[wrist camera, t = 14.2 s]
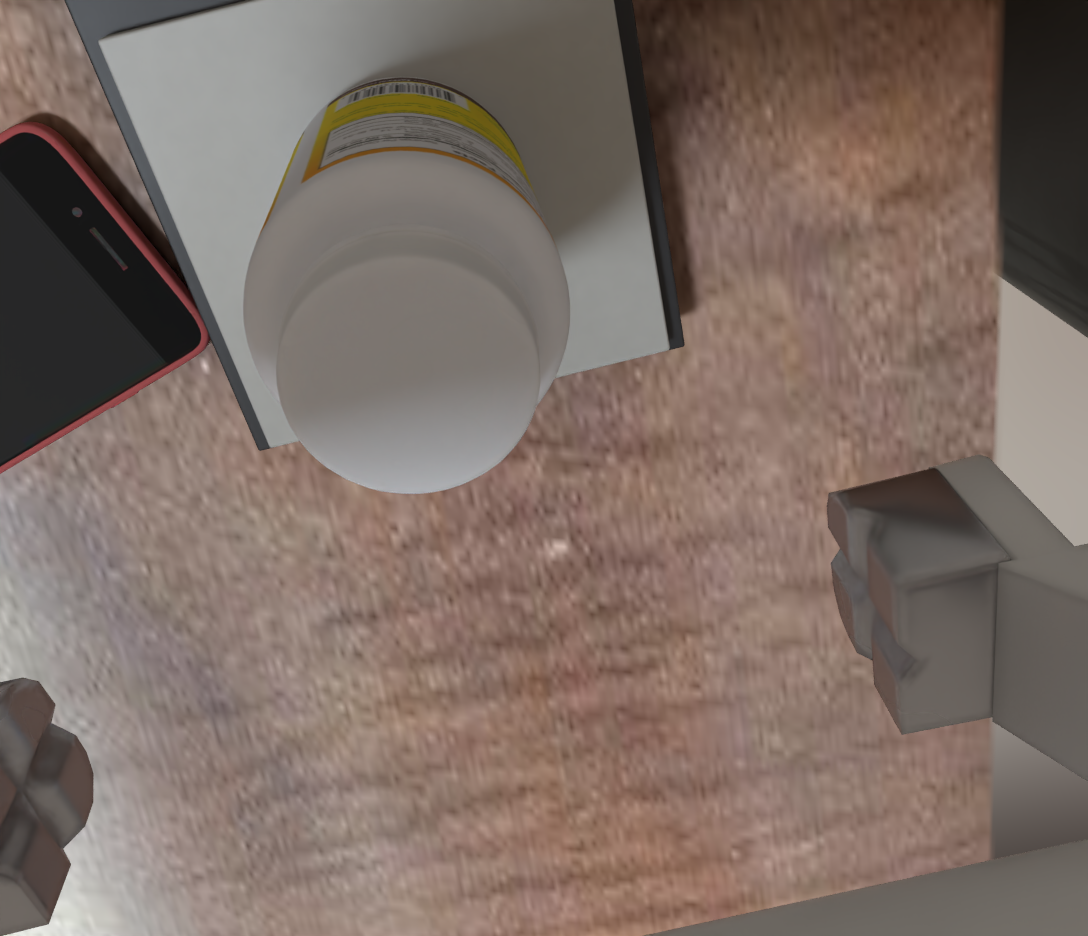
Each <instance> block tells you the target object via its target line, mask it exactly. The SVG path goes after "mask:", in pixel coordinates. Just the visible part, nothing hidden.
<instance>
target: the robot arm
mask: <svg viewBox="0 0 1088 936" xmlns="http://www.w3.org/2000/svg"><path fill="white" fill-rule="evenodd" d="M827 517H828V528H829V530H830V531H831V533H832V535H833V536H834V538H835V540H836V542H837V543H838V545H839V547H840V550H839V551H838V553H837V554H836V556H835V558H834V559H833V561H832V562H831V568H832V577H833V586H834V592H835V596H836V600H837V605H838V609H839V613H840V616H841V619H842V621H843V624H844V627H845V629H846V632H847V634H848V636H849V638H850V640H851V642H852V644H853V646H854V648H855V650H856V652H857V653H859V654H861V655H863V656H865V657H867V658H869V659H871V660H873V674H874V685H875V687H876V689H877V691H878V692H879V694H880V696H881V698H882V700H883V702H884V703H885V705H886V707H887V709H888V711H889V712H890V714H891V716H892V718H893V720H894V722H895V723H896V725H897V727H898V729H899V731H900V732H901V734H902V735H903V734H908V733H913V732H918V731H923V730H929V729H934V728H939V727H944V726H949V725H954V724H959V723H965V722H970V721H975V720H980V719H985V718H990V717H993V722H994V723H996V724H998V725H1000V726H1001V727H1002V728H1004V729H1006V730H1007V731H1009V732H1011V733H1012V734H1013V735H1015V736H1017V737H1018V738H1020V739H1022V740H1023V741H1025V742H1026V743H1028V744H1029V745H1031V746H1032V747H1034V748H1036V749H1037V750H1039V751H1040V752H1042V753H1043V754H1045V755H1047V756H1049V757H1050V758H1051V759H1053V760H1055V761H1056V762H1058V763H1060V764H1061V765H1062V766H1064V767H1066V768H1067V769H1069V770H1070V771H1072V772H1074V773H1075V774H1077V775H1078V776H1080V777H1081V778H1083V779H1085V780H1086V781H1088V544H1084V545H1079V546H1075V547H1074V546H1073V544H1072V543H1071V542H1070V541H1069V540H1068V539H1067V538H1066V537H1065V536H1064V535H1063V534H1062V533H1061V532H1060V531H1059V530H1058V529H1057V528H1056V527H1055V526H1054V525H1053V524H1052V523H1051V522H1050V521H1049V520H1048V519H1047V517H1046V516H1045V515H1044V514H1043V513H1042V512H1041V511H1040V510H1039V509H1038V508H1037V507H1036V506H1035V505H1034V504H1033V503H1032V502H1031V501H1030V500H1029V499H1028V498H1027V497H1026V496H1025V495H1024V494H1023V493H1022V492H1021V490H1020V489H1018V487H1017V486H1016V485H1015V484H1014V483H1013V482H1012V481H1011V480H1010V479H1009V478H1008V477H1007V476H1006V475H1005V474H1004V473H1003V472H1002V471H1001V470H1000V469H999V468H998V467H997V466H996V465H995V464H994V462H993V461H992V460H991V459H990V458H988V457H985V456H982V455H975V456H971V457H967V458H963V459H960V460H956V461H952V462H948V463H944V464H940V465H937V466H933V467H929V469H927V470H923V471H919V472H915V473H911V474H906V475H902V476H898V477H894V478H890V479H885V480H881V481H877V482H873V483H869V484H864V485H860V486H856V487H852V488H848V489H843V490H839V491H835V492H831V493H829V494H828V502H827ZM54 709H55V703H54V702H53V700H52V699H51V698H50V696H49V695H48V694H47V692H46V691H45V689H44V688H43V687H42V685H41V684H40V683H39V681H35V680H31V679H26V678H19V679H14V680H9V681H4V682H0V936H3V935H7V934H11V933H15V932H19V931H23V930H27V929H31V928H35V927H39V926H43V925H47V924H49V922H50V919H51V916H52V914H53V911H54V908H55V906H56V903H57V900H58V898H59V895H60V892H61V890H62V887H63V884H64V882H65V879H66V876H67V874H68V871H69V868H70V866H71V863H70V862H69V860H68V858H67V856H66V854H65V852H64V850H63V848H64V847H65V846H66V845H67V844H68V843H69V842H70V841H71V840H72V839H73V838H74V837H75V836H76V835H77V834H78V833H79V832H80V831H81V830H82V829H83V828H84V827H85V825H86V822H87V819H88V816H89V813H90V810H91V807H92V804H93V771H92V768H91V764H90V761H89V758H88V755H87V752H86V751H85V749H84V747H83V746H82V744H81V743H80V741H79V740H78V738H77V736H76V735H74V734H72V733H70V732H68V731H66V730H64V729H62V728H60V727H58V726H56V725H54V724H52V723H51V721H52V717H53V713H54ZM644 936H1088V839H1086V840H1081V841H1076V842H1072V843H1067V844H1063V845H1058V846H1053V847H1049V848H1045V849H1040V850H1035V851H1031V852H1026V853H1021V854H1017V855H1012V856H1008V857H1003V858H998V859H994V860H989V861H985V862H980V863H975V864H971V865H966V866H962V867H957V868H952V869H948V870H943V871H939V872H934V873H930V874H925V875H920V876H916V877H911V878H907V879H902V880H897V881H893V882H888V883H884V884H879V885H875V886H870V887H865V888H861V889H856V890H852V891H847V892H842V893H838V894H833V895H829V896H824V897H819V898H815V899H810V900H806V901H801V902H796V903H792V904H787V905H782V906H778V907H773V908H769V909H764V910H759V911H755V912H750V913H746V914H741V915H736V916H732V917H727V918H722V919H718V920H713V921H709V922H704V923H699V924H695V925H690V926H685V927H681V928H676V929H672V930H667V931H662V932H658V933H653V934H649V935H644Z"/></svg>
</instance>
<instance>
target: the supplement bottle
mask: <svg viewBox="0 0 1088 936" xmlns="http://www.w3.org/2000/svg"><path fill="white" fill-rule="evenodd" d="M243 320H244V327H245V334H246V338H247V342H248V346H249V349H250V352H251V355H252V358H253V361H254V364H255V366H256V369H257V370H258V372H259V374H260V376H261V378H262V379H263V381H264V383H265V385H266V386H267V388H268V389H269V391H270V392H271V394H272V395H273V397H274V398H275V399H276V400H277V402H278V403H279V404H280V405H281V406H282V409H283V412H284V414H285V416H286V418H287V421H288V423H289V425H290V427H291V429H292V430H293V432H294V433H295V435H296V436H297V438H298V439H299V440H300V442H301V443H302V444H303V446H304V447H305V448H306V449H307V451H308V452H309V453H310V454H311V455H313V456H314V457H315V458H316V459H317V460H318V461H319V462H321V463H322V464H323V465H324V466H326V467H327V468H329V469H330V470H332V471H333V472H335V473H336V474H338V475H340V476H341V477H343V478H345V479H347V480H349V481H352V482H354V483H356V484H359V485H362V486H365V487H368V488H371V489H374V490H379V491H383V492H391V493H401V494H421V493H431V492H437V491H442V490H446V489H450V488H453V487H456V486H459V485H462V484H465V483H467V482H469V481H471V480H473V479H475V478H477V477H479V476H480V475H482V474H484V473H486V472H487V471H489V470H490V469H491V468H493V467H494V466H496V465H497V464H498V463H500V462H501V461H502V460H503V459H504V458H505V457H506V456H507V455H508V454H509V453H510V452H511V450H512V449H513V448H514V447H515V446H516V444H517V443H518V442H519V441H520V440H521V438H522V436H523V435H524V433H525V431H526V430H527V428H528V425H529V423H530V421H531V419H532V417H533V414H534V412H535V408H536V406H537V405H538V404H539V402H540V401H541V400H542V398H543V397H544V395H545V394H546V392H547V391H548V389H549V388H550V386H551V384H552V382H553V381H554V378H555V376H556V374H557V372H558V370H559V367H560V365H561V362H562V359H563V356H564V353H565V349H566V345H567V340H568V335H569V327H570V297H569V289H568V283H567V279H566V275H565V271H564V267H563V264H562V261H561V258H560V255H559V252H558V250H557V247H556V245H555V242H554V240H553V237H552V235H551V233H550V231H549V228H548V226H547V223H546V221H545V218H544V216H543V213H542V211H541V208H540V206H539V203H538V200H537V198H536V196H535V193H534V190H533V188H532V186H531V183H530V181H529V179H528V176H527V174H526V171H525V168H524V165H523V163H522V161H521V158H520V155H519V153H518V151H517V149H516V147H515V145H514V143H513V141H512V140H511V139H510V137H509V136H508V134H507V132H506V131H505V129H504V128H503V127H502V125H501V124H500V123H499V122H498V121H497V119H496V118H495V117H494V116H493V115H492V114H491V113H490V112H489V111H488V110H487V109H486V108H484V107H483V106H482V105H481V104H480V103H478V102H477V101H476V100H474V99H473V98H471V97H470V96H468V95H467V94H465V93H463V92H461V91H459V90H457V89H455V88H453V87H451V86H448V85H446V84H443V83H440V82H437V81H432V80H428V79H424V78H417V77H390V78H382V79H377V80H373V81H370V82H367V83H364V84H361V85H358V86H356V87H354V88H352V89H349V90H348V91H346V92H344V93H342V94H341V95H339V96H338V97H336V98H335V99H333V100H332V101H331V102H330V103H328V104H327V105H326V106H325V107H324V108H323V109H321V110H320V111H319V112H318V113H317V115H316V116H315V117H314V118H313V119H312V120H311V122H310V123H309V125H308V126H307V127H306V129H305V130H304V132H303V134H302V136H301V137H300V139H299V141H298V143H297V145H296V147H295V149H294V151H293V154H292V156H291V159H290V161H289V163H288V166H287V168H286V171H285V173H284V176H283V178H282V181H281V183H280V186H279V189H278V191H277V193H276V196H275V198H274V201H273V203H272V206H271V208H270V210H269V213H268V215H267V218H266V220H265V222H264V225H263V227H262V229H261V232H260V234H259V237H258V239H257V241H256V244H255V247H254V250H253V252H252V255H251V258H250V262H249V265H248V269H247V274H246V279H245V287H244V299H243Z"/></svg>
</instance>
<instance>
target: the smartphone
mask: <svg viewBox="0 0 1088 936" xmlns="http://www.w3.org/2000/svg"><path fill="white" fill-rule="evenodd" d="M209 340H210V336H209V334H208V331H207V329H206V327H205V325H204V322H203V320H202V318H201V315H200V313H199V311H198V308H197V306H196V304H195V301H194V299H193V297H192V294H191V292H190V291H189V290H188V289H187V287H186V286H185V285H184V283H183V282H182V281H181V280H180V278H179V277H178V276H177V275H176V274H175V272H174V271H173V270H172V269H171V267H170V266H169V265H168V264H167V262H166V261H165V260H164V259H163V257H162V256H161V255H160V254H159V253H158V251H157V250H156V249H155V248H154V246H153V245H152V244H151V243H150V241H149V240H148V239H147V238H146V236H145V235H144V234H143V233H142V232H141V230H140V229H139V228H138V227H137V225H136V224H135V223H134V222H133V220H132V219H131V218H130V217H129V215H128V214H127V213H126V212H125V211H124V209H123V208H122V207H121V206H120V204H119V203H118V202H117V201H116V199H115V198H114V197H113V196H112V194H111V193H110V192H109V191H108V190H107V188H106V187H105V186H104V185H103V183H102V182H101V181H100V180H99V178H98V177H97V176H96V175H95V173H94V172H93V171H92V170H91V169H90V167H89V166H88V165H87V164H86V162H85V161H84V160H83V159H82V158H81V156H80V155H79V154H78V153H77V152H76V151H75V149H74V148H73V147H72V146H71V145H70V144H69V143H68V142H67V141H66V140H65V139H64V138H63V137H62V136H61V135H60V134H59V133H58V132H56V131H55V130H53V129H52V128H50V127H48V126H47V125H44V124H41V123H37V122H25V123H20V124H17V125H15V126H13V127H11V128H9V129H7V130H6V131H4V132H2V133H1V134H0V474H1V473H2V472H4V471H6V470H7V469H9V468H11V467H12V466H14V465H16V464H17V463H19V462H21V461H22V460H24V459H26V458H27V457H29V456H31V455H32V454H34V453H36V452H37V451H39V450H41V449H42V448H44V447H46V446H47V445H49V444H51V443H52V442H54V441H56V440H57V439H59V438H61V437H62V436H64V435H66V434H67V433H69V432H71V431H72V430H74V429H76V428H77V427H79V426H81V425H82V424H84V423H86V422H87V421H89V420H91V419H92V418H94V417H96V416H98V415H99V414H101V413H103V412H104V411H106V410H108V409H109V408H113V407H115V406H116V405H118V404H120V403H121V402H123V401H125V400H126V399H128V398H130V397H131V396H133V395H135V394H136V393H138V391H139V390H141V389H143V388H144V387H146V386H148V385H149V384H151V383H153V382H154V381H156V380H158V379H159V378H161V377H163V376H164V375H166V374H168V373H169V372H171V371H173V370H174V369H176V368H178V367H179V366H181V365H183V364H184V363H186V362H187V361H189V360H191V359H192V358H194V357H195V356H197V355H198V354H199V353H201V352H202V351H203V350H204V349H205V348H206V346H207V345H208V343H209Z"/></svg>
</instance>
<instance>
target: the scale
mask: <svg viewBox="0 0 1088 936" xmlns="http://www.w3.org/2000/svg"><path fill="white" fill-rule="evenodd" d="M65 3H66V5H67V7H68V9H69V12H70V14H71V16H72V19H73V21H74V23H75V26H76V28H77V30H78V33H79V35H80V37H81V40H82V42H83V44H84V47H85V49H86V51H87V53H88V56H89V58H90V60H91V63H92V65H93V67H94V70H95V72H96V74H97V77H98V79H99V81H100V84H101V86H102V88H103V91H104V93H105V95H106V98H107V100H108V102H109V104H110V107H111V109H112V111H113V114H114V116H115V118H116V121H117V123H118V125H119V128H120V130H121V132H122V135H123V137H124V139H125V142H126V144H127V146H128V148H129V151H130V153H131V155H132V158H133V160H134V162H135V165H136V167H137V169H138V172H139V174H140V176H141V179H142V181H143V183H144V186H145V188H146V190H147V192H148V195H149V197H150V199H151V202H152V204H153V206H154V209H155V211H156V213H157V216H158V218H159V220H160V223H161V225H162V227H163V230H164V232H165V234H166V237H167V239H168V241H169V243H170V246H171V248H172V250H173V253H174V255H175V257H176V260H177V262H178V264H179V267H180V269H181V271H182V274H183V276H184V278H185V281H186V283H187V285H188V287H189V290H190V292H191V294H192V297H193V299H194V301H195V304H196V306H197V308H198V311H199V313H200V315H201V318H202V320H203V322H204V325H205V327H206V329H207V331H208V334H209V336H210V338H211V341H212V343H213V345H214V348H215V350H216V352H217V355H218V357H219V359H220V362H221V364H222V366H223V369H224V371H225V373H226V375H227V378H228V380H229V382H230V385H231V387H232V389H233V392H234V394H235V396H236V399H237V401H238V403H239V406H240V408H241V410H242V413H243V415H244V417H245V420H246V422H247V424H248V426H249V429H250V431H251V433H252V436H253V438H254V440H255V443H256V445H257V447H258V449H259V450H260V451H261V450H265V449H269V448H273V447H277V446H281V445H285V444H289V443H293V442H297V441H300V440H299V439H298V438H297V436H296V435H295V433H294V432H293V430H292V429H291V427H290V425H289V423H288V421H287V418H286V416H285V414H284V412H283V409H282V406H281V405H280V404H279V403H278V402H277V400H276V399H275V398H274V397H273V395H272V394H271V392H270V391H269V389H268V388H267V386H266V385H265V383H264V381H263V379H262V378H261V376H260V374H259V372H258V370H257V369H256V366H255V364H254V361H253V358H252V355H251V352H250V349H249V346H248V342H247V338H246V334H245V327H244V320H243V299H244V287H245V279H246V274H247V269H248V265H249V262H250V258H251V255H252V252H253V250H254V247H255V244H256V241H257V239H258V237H259V234H260V232H261V229H262V227H263V225H264V222H265V220H266V218H267V215H268V213H269V210H270V208H271V206H272V203H273V201H274V198H275V196H276V193H277V191H278V189H279V186H280V183H281V181H282V178H283V176H284V173H285V171H286V168H287V166H288V163H289V161H290V159H291V156H292V154H293V151H294V149H295V147H296V145H297V143H298V141H299V139H300V137H301V136H302V134H303V132H304V130H305V129H306V127H307V126H308V125H309V123H310V122H311V120H312V119H313V118H314V117H315V116H316V115H317V113H318V112H319V111H320V110H321V109H323V108H324V107H325V106H326V105H327V104H328V103H330V102H331V101H332V100H333V99H335V98H336V97H338V96H339V95H341V94H342V93H344V92H346V91H348V90H349V89H352V88H354V87H356V86H358V85H361V84H364V83H367V82H370V81H373V80H377V79H382V78H390V77H417V78H424V79H428V80H432V81H437V82H440V83H443V84H446V85H448V86H451V87H453V88H455V89H457V90H459V91H461V92H463V93H465V94H467V95H468V96H470V97H471V98H473V99H474V100H476V101H477V102H478V103H480V104H481V105H482V106H483V107H484V108H486V109H487V110H488V111H489V112H490V113H491V114H492V115H493V116H494V117H495V118H496V119H497V121H498V122H499V123H500V124H501V125H502V127H503V128H504V129H505V131H506V132H507V134H508V136H509V137H510V139H511V140H512V141H513V143H514V145H515V147H516V149H517V151H518V153H519V155H520V158H521V161H522V163H523V165H524V168H525V171H526V174H527V176H528V179H529V181H530V183H531V186H532V188H533V190H534V193H535V196H536V198H537V200H538V203H539V206H540V208H541V211H542V213H543V216H544V218H545V221H546V223H547V226H548V228H549V231H550V233H551V235H552V237H553V240H554V242H555V245H556V247H557V250H558V252H559V255H560V258H561V261H562V264H563V267H564V271H565V275H566V279H567V283H568V289H569V297H570V327H569V335H568V340H567V345H566V349H565V353H564V356H563V359H562V362H561V365H560V367H559V370H558V372H557V374H556V376H555V378H558V377H562V376H566V375H570V374H574V373H578V372H582V371H586V370H590V369H594V368H598V367H602V366H606V365H610V364H614V363H618V362H623V361H627V360H631V359H635V358H639V357H643V356H647V355H651V354H655V353H659V352H663V351H667V350H671V349H675V348H679V347H683V346H684V338H683V331H682V325H681V318H680V312H679V305H678V298H677V292H676V285H675V279H674V272H673V266H672V259H671V253H670V246H669V239H668V233H667V226H666V220H665V213H664V207H663V200H662V194H661V187H660V180H659V174H658V167H657V161H656V154H655V148H654V141H653V135H652V128H651V121H650V115H649V108H648V102H647V95H646V89H645V82H644V75H643V69H642V62H641V56H640V49H639V43H638V36H637V30H636V23H635V16H634V10H633V3H632V0H65Z"/></svg>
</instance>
